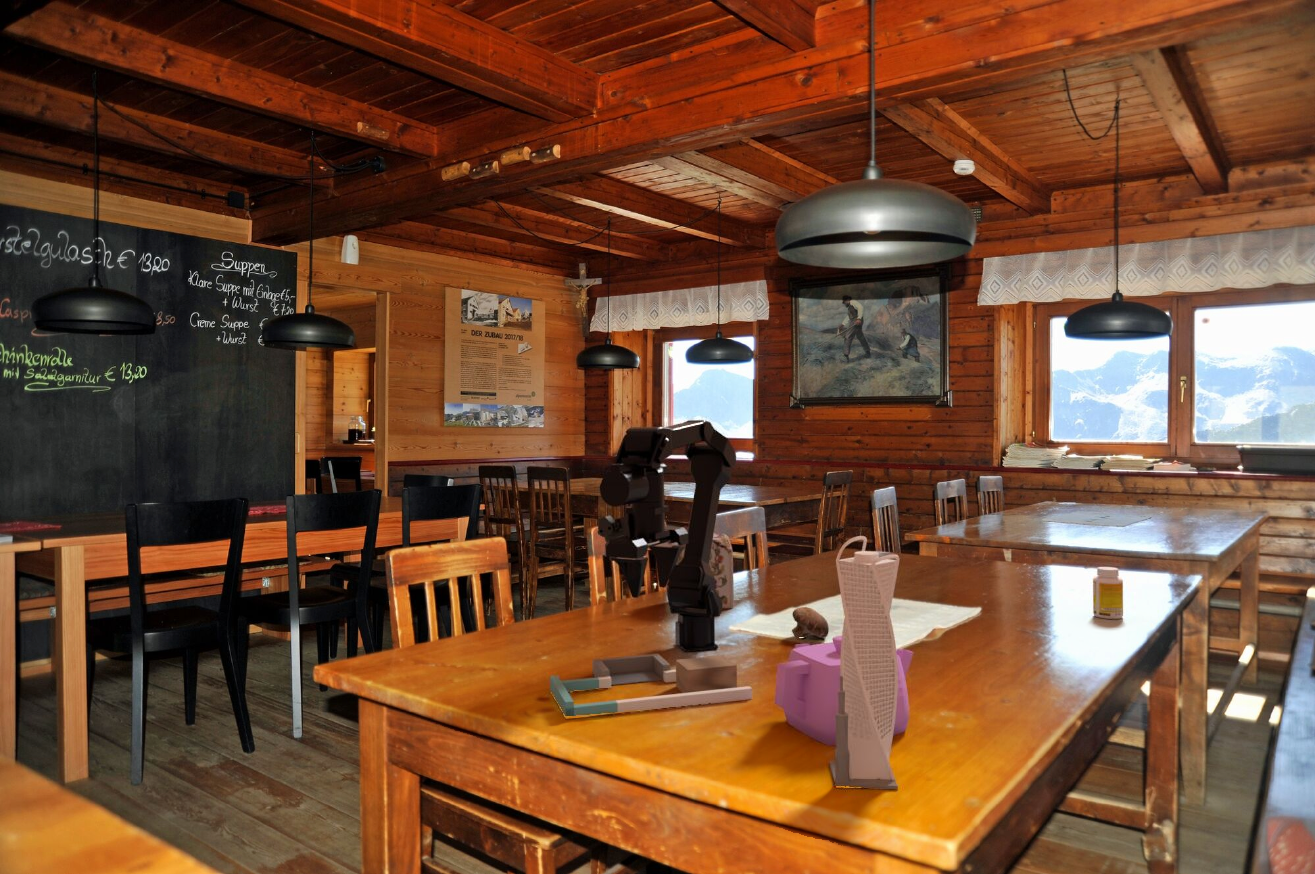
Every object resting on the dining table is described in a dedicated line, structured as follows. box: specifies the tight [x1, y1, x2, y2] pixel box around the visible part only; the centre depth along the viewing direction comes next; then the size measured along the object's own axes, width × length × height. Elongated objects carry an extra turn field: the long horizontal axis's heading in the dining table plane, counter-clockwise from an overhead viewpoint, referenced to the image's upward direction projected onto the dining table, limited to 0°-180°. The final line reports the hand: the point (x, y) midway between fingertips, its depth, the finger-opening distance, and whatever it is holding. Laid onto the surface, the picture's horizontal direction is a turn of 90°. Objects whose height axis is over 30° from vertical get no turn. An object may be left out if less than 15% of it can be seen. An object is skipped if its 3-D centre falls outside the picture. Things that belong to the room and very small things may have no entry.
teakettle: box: [774, 635, 914, 747], centre depth 120 cm, size 17×17×12 cm
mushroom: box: [791, 606, 830, 639], centre depth 169 cm, size 8×8×6 cm
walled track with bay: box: [549, 653, 753, 716], centre depth 138 cm, size 29×21×2 cm
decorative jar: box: [676, 531, 735, 610], centre depth 201 cm, size 12×12×18 cm
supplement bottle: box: [1092, 566, 1124, 620], centre depth 183 cm, size 6×6×10 cm
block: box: [675, 655, 738, 693], centre depth 137 cm, size 8×6×4 cm
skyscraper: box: [828, 535, 900, 790], centre depth 104 cm, size 8×8×28 cm
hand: (649, 592), depth 149 cm, fingers open, 9 cm apart
